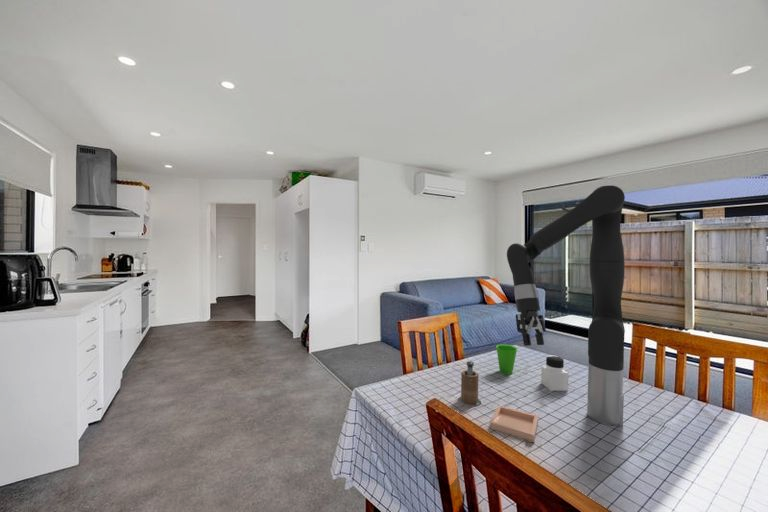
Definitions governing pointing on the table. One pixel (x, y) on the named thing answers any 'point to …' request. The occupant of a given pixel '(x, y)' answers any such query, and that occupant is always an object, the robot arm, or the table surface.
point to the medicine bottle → (554, 374)
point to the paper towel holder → (470, 373)
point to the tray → (515, 423)
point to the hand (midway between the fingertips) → (534, 345)
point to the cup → (506, 358)
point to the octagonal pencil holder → (469, 388)
